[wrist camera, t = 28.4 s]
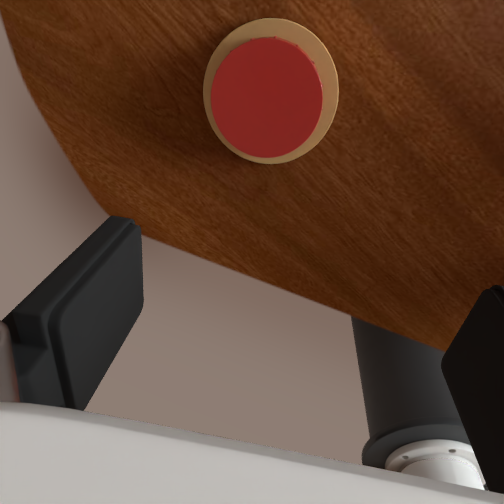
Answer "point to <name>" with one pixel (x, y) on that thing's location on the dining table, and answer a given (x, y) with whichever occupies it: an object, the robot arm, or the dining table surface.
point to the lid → (267, 97)
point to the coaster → (307, 44)
